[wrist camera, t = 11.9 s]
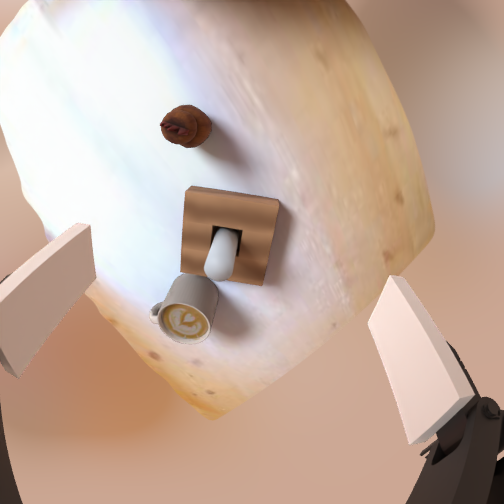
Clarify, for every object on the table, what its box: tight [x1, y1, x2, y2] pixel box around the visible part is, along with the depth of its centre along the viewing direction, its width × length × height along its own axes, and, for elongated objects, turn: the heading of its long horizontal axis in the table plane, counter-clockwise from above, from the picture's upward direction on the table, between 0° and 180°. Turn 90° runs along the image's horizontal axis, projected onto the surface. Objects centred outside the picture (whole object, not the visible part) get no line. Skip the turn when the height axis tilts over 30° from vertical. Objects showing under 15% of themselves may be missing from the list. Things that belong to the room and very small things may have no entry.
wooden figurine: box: [160, 105, 212, 148], centre depth 35 cm, size 7×6×15 cm
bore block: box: [180, 186, 279, 286], centre depth 48 cm, size 15×15×4 cm
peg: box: [204, 226, 239, 281], centre depth 44 cm, size 4×4×12 cm
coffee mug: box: [149, 273, 219, 344], centre depth 52 cm, size 13×10×10 cm
